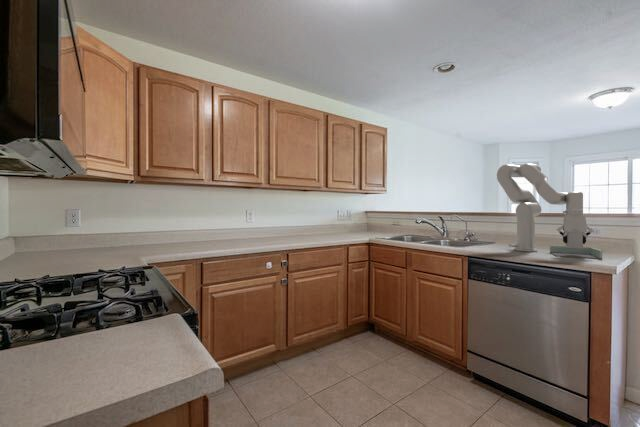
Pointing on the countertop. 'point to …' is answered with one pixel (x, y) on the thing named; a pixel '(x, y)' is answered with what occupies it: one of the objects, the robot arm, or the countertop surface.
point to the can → (574, 240)
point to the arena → (576, 252)
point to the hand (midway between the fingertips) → (574, 243)
